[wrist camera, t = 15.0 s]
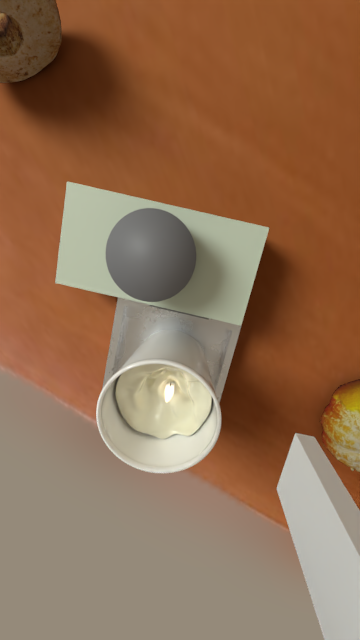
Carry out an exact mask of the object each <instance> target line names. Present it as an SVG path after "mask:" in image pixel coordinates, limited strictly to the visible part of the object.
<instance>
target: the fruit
mask: <svg viewBox="0 0 360 640" xmlns="http://www.w3.org/2000/svg"><path fill="white" fill-rule="evenodd" d="M332 396H333V397H332V398H331V400H330V404H329V405H328V406H326V408H325V410H324V412H323V414H322V416H321V420H320V422H321V425H322V427H323V432H322V440H323V443H324V446H325V447H326V448H327V449H328V450H329V451H330V452H331V454H332V455H333V456H334V457H335V458H336V459H337V460H338V461H340V462H342V463H343V464H345V465H346V466H349V467H351V469H352V471H353V470H354V469H355V470H356V471H358V472H360V379H359V380H355V381H352V382H349V383H347V384H344V385H340V387H338V389H337V390H335V392H334V394H333V395H332Z"/></svg>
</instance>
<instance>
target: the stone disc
mask: <svg viewBox="0 0 360 640" xmlns="http://www.w3.org/2000/svg"><path fill="white" fill-rule="evenodd" d="M0 13H1V14H0V83H11V82H18V81H23V80H25V79H27V78H29V77H31V76H33V75H35V74H37V73H38V72H39V71H41V70H42V69H43V68H44V67H45V66H47V65H48V64H49V63H50V62H52V61H53V59H54V58H55V57H56V55H57V53H58V50H59V47H60V45H61V42H62V40H61V20H60V16H59V11H58V8H57V4H56V0H0Z"/></svg>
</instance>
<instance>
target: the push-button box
mask: <svg viewBox="0 0 360 640" xmlns="http://www.w3.org/2000/svg"><path fill="white" fill-rule="evenodd" d="M268 230H269V228H268V227H264V226H260V225H255V224H251V223H246V222H242V221H238V220H233V219H229V218H225V217H220V216H216V215H212V214H207V213H203V212H198V211H194V210H190V209H185V208H181V207H177V206H172V205H168V204H163V203H159V202H155V201H150V200H146V199H142V198H137V197H133V196H128V195H124V194H120V193H115V192H111V191H107V190H102V189H98V188H94V187H89V186H85V185H80V184H76V183H72V182H67V186H66V195H65V204H64V212H63V221H62V230H61V238H60V247H59V256H58V264H57V273H56V282H55V283H58V284H63V285H67V286H71V287H76V288H80V289H84V290H89V291H93V292H97V293H102V294H106V295H110V296H115V297H119V298H123V299H128V300H132V301H136V302H141V303H145V304H149V305H150V306H151V307H156V308H160V309H164V310H169V311H173V312H177V313H182V314H186V315H190V316H195V317H199V318H203V319H208V320H209V318H210V319H214V320H218V321H223V322H227V323H231V324H236V325H240V326H241V325H242V321H243V318H244V314H245V311H246V307H247V304H248V300H249V297H250V293H251V290H252V286H253V283H254V279H255V276H256V272H257V269H258V265H259V262H260V258H261V255H262V251H263V248H264V244H265V241H266V237H267V234H268Z"/></svg>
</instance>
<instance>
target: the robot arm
mask: <svg viewBox="0 0 360 640" xmlns="http://www.w3.org/2000/svg"><path fill="white" fill-rule="evenodd" d="M277 491H278V495H279V498H280V501H281V504H282V507H283V510H284V514H285V517H286V520H287V523H288V526H289V529H290V532H291V536H292V539H293V542H294V545H295V548H296V551H297V555H298V558H299V561H300V564H301V567H302V570H303V573H304V577H305V580H306V583H307V586H308V589H309V592H310V596H311V598H312V602H313V605H314V608H315V611H316V614H317V617H318V621H319V624H320V627H321V630H322V633H323V637H324V640H360V510H359V509H358V507H357V506H356V504H355V502H354V501H353V499H352V497H351V496H350V494H349V492H348V491H347V489H346V488H345V486H344V484H343V483H342V481H341V479H340V478H339V476H338V475H337V473H336V471H335V470H334V468H333V466H332V465H331V463H330V461H329V460H328V458H327V457H326V455H325V453H324V452H323V450H322V448H321V447H320V445H319V443H318V442H317V440H316V439H315V437H313V436H308V435H303V434H299V433H295V435H294V438H293V441H292V444H291V447H290V450H289V453H288V456H287V459H286V462H285V465H284V468H283V471H282V474H281V477H280V480H279V483H278V485H277Z"/></svg>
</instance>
